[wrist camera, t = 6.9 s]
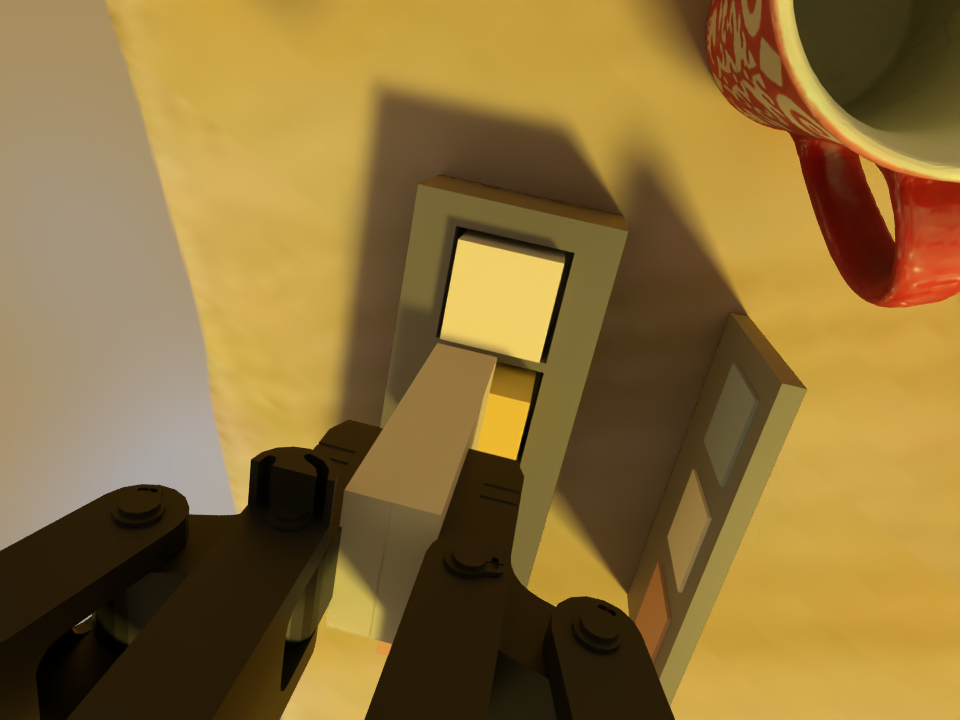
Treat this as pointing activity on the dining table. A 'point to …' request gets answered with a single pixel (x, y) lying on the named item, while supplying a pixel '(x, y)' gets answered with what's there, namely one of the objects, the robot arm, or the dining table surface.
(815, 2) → the mug
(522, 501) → the frame
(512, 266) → the key ivory
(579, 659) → the robot arm
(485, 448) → the key mustard
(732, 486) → the placard
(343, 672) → the dining table surface
